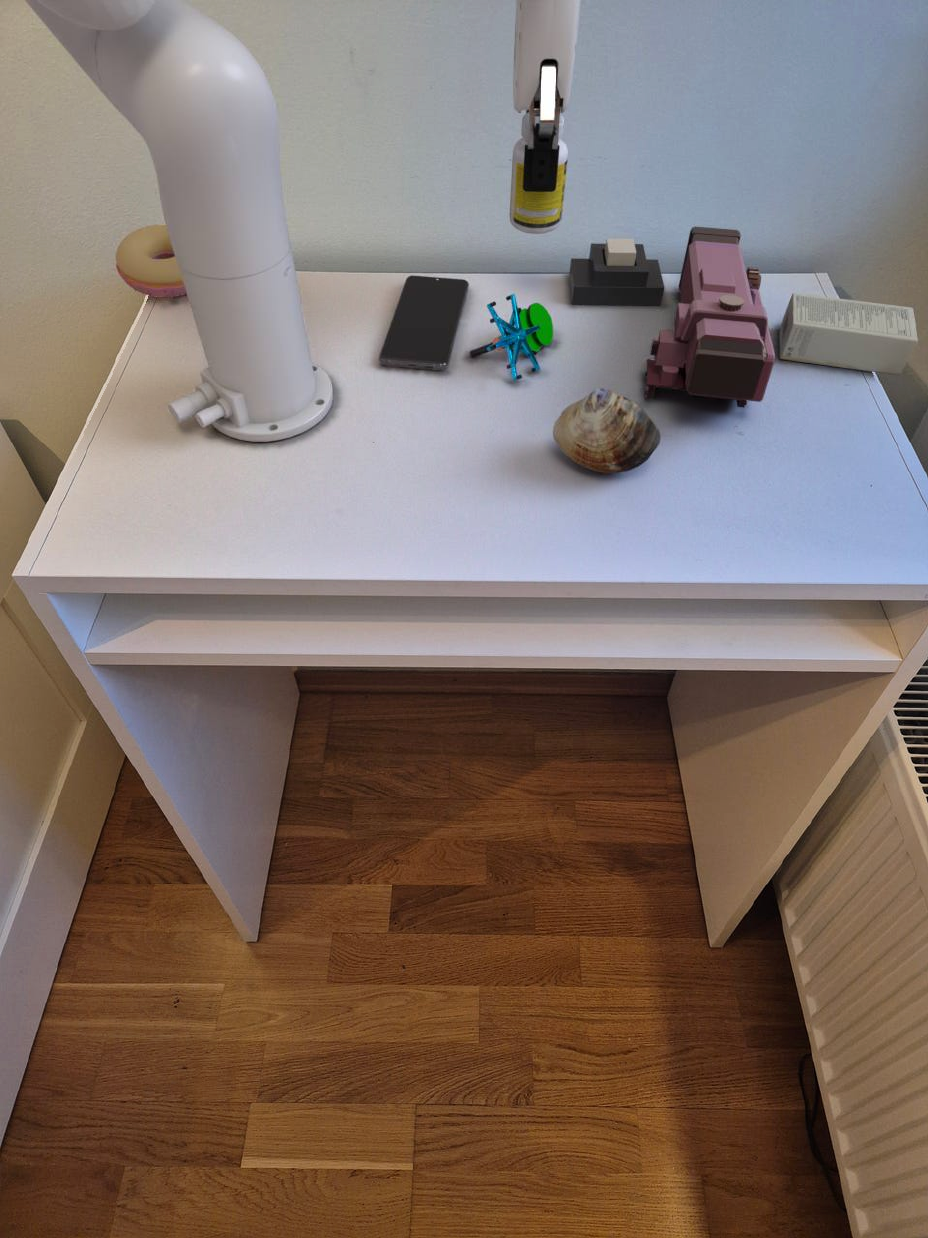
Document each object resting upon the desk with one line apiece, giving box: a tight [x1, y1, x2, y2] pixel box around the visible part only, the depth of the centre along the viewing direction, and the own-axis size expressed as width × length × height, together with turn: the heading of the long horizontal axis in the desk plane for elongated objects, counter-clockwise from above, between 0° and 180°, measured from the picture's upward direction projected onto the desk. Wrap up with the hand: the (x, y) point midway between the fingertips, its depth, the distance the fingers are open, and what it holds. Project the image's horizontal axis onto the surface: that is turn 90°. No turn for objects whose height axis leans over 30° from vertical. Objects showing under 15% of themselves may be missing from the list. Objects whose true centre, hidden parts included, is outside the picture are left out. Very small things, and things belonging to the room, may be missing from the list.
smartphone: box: [378, 274, 470, 371], centre depth 86 cm, size 7×1×16 cm
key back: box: [604, 237, 636, 266], centre depth 87 cm, size 3×3×2 cm
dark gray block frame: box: [568, 242, 665, 307], centre depth 89 cm, size 10×6×4 cm, turn 89°
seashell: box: [552, 388, 662, 474], centre depth 70 cm, size 10×6×8 cm, turn 70°
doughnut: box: [115, 224, 187, 299], centre depth 91 cm, size 11×11×4 cm
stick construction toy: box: [469, 293, 554, 381], centre depth 82 cm, size 12×7×8 cm
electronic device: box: [644, 226, 776, 409], centre depth 79 cm, size 11×27×10 cm, turn 171°
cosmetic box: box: [779, 292, 919, 376], centre depth 82 cm, size 6×4×12 cm
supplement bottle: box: [509, 112, 569, 235], centre depth 78 cm, size 5×5×10 cm
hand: (538, 173), depth 78 cm, fingers closed on supplement bottle, 5 cm apart
